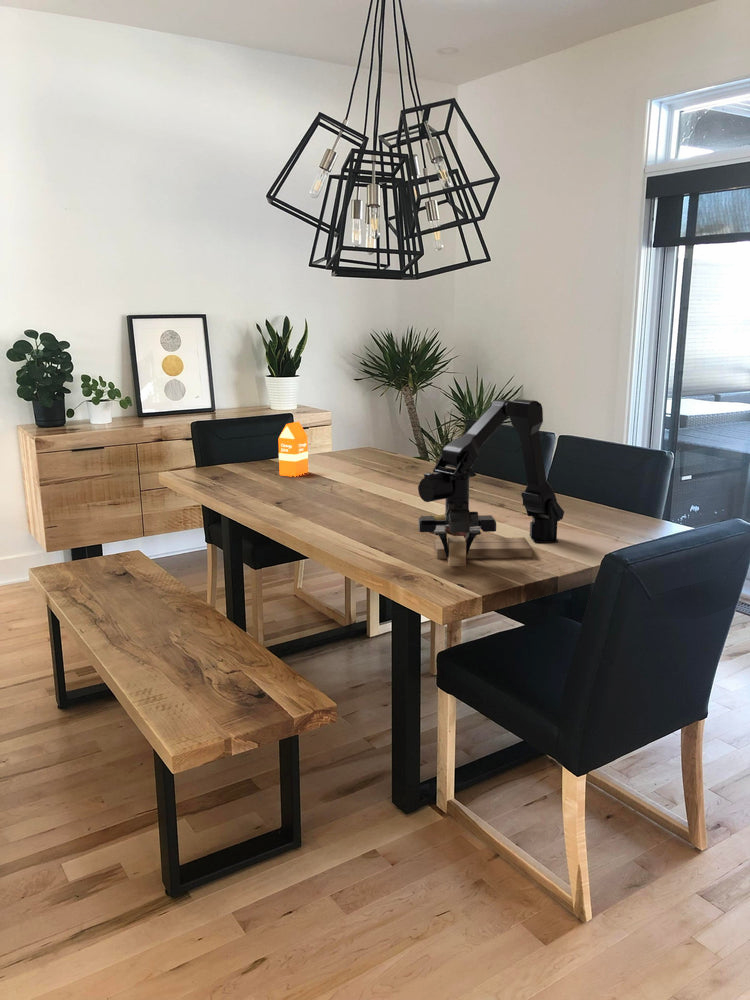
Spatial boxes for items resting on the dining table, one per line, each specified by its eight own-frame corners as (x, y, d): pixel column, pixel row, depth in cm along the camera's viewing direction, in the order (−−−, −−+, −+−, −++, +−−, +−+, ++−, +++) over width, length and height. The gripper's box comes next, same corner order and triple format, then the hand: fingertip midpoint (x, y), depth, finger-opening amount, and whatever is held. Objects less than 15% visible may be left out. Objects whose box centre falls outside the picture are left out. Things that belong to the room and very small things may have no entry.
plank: (524, 546, 215) (524, 537, 214) (531, 557, 205) (532, 548, 204) (434, 547, 215) (434, 538, 214) (437, 558, 205) (437, 548, 204)
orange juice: (279, 475, 312) (277, 423, 308) (292, 471, 320) (290, 420, 315) (296, 476, 309) (294, 424, 304) (308, 472, 316) (307, 421, 312)
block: (460, 552, 210) (460, 529, 209) (465, 566, 199) (466, 542, 197) (445, 552, 210) (445, 529, 209) (449, 566, 199) (449, 542, 197)
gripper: (421, 503, 190) (420, 567, 194) (500, 503, 190) (498, 566, 194) (418, 493, 201) (418, 553, 204) (493, 492, 201) (492, 553, 204)
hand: (456, 557), depth 201 cm, fingers open, 4 cm apart
